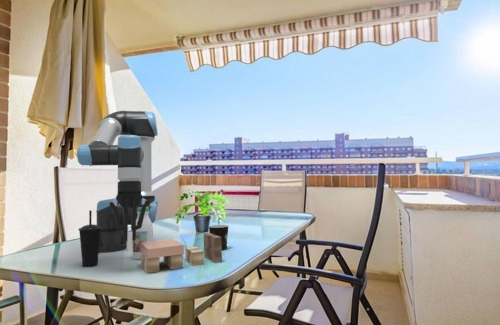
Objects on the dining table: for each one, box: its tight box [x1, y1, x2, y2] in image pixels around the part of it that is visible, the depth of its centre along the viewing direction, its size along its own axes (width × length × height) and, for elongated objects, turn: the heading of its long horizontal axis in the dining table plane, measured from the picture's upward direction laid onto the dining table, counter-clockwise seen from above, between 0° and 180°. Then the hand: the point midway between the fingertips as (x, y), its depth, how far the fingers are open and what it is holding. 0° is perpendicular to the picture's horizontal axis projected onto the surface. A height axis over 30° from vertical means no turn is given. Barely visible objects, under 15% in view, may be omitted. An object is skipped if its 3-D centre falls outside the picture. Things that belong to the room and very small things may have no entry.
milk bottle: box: [132, 207, 154, 260], centre depth 125 cm, size 8×8×20 cm
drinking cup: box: [78, 210, 102, 268], centre depth 114 cm, size 8×8×20 cm
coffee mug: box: [208, 224, 229, 251], centre depth 136 cm, size 12×9×10 cm
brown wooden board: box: [203, 232, 223, 264], centre depth 119 cm, size 12×2×9 cm, turn 29°
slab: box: [140, 238, 185, 259], centre depth 110 cm, size 14×12×3 cm
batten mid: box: [163, 254, 184, 270], centre depth 111 cm, size 11×4×5 cm, turn 29°
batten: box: [185, 245, 205, 267], centre depth 115 cm, size 11×4×5 cm, turn 25°
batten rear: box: [140, 252, 160, 274], centre depth 107 cm, size 11×4×5 cm, turn 29°
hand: (129, 250), depth 105 cm, fingers closed
